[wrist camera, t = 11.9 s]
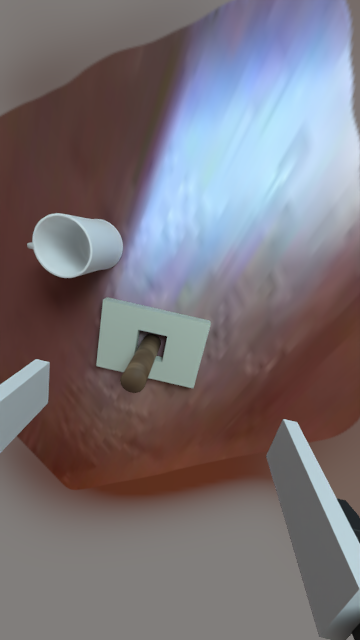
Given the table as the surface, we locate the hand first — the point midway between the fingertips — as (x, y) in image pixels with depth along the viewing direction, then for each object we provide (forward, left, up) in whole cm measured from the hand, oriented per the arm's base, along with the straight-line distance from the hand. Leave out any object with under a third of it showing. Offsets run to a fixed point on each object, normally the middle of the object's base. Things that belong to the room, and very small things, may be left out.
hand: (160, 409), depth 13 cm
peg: (-5, -12, -32) cm, 34 cm away
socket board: (-5, -12, -32) cm, 34 cm away
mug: (-19, +4, -32) cm, 38 cm away
